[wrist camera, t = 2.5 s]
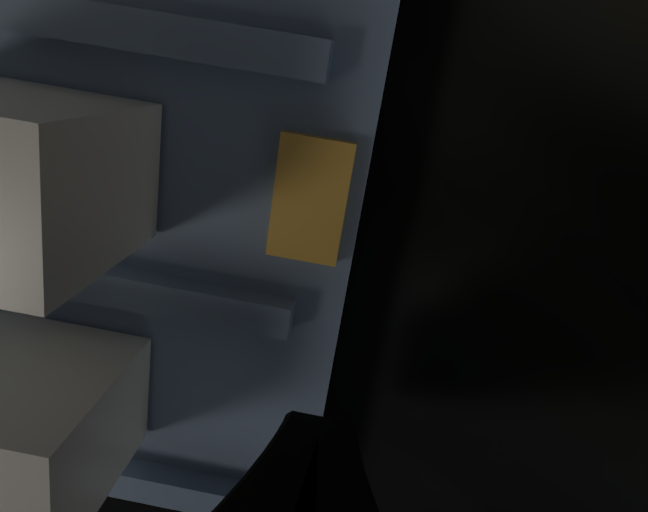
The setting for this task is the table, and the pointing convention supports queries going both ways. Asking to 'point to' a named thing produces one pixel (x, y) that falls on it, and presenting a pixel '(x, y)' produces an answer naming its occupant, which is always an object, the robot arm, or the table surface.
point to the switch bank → (224, 208)
